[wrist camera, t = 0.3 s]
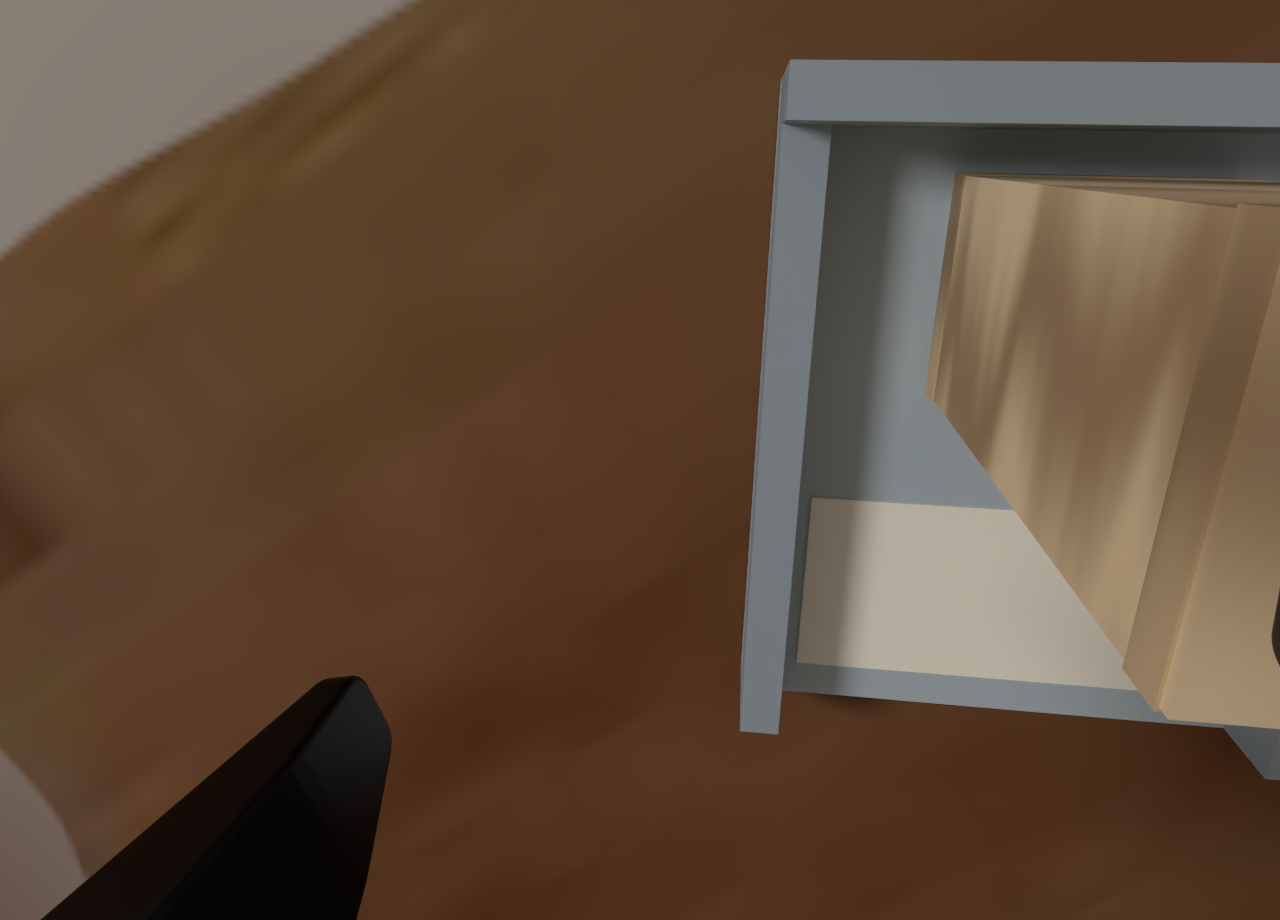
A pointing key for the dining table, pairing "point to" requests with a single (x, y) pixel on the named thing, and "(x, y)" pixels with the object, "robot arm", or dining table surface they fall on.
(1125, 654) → the tan wooden block
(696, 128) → the dining table surface
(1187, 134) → the bay
